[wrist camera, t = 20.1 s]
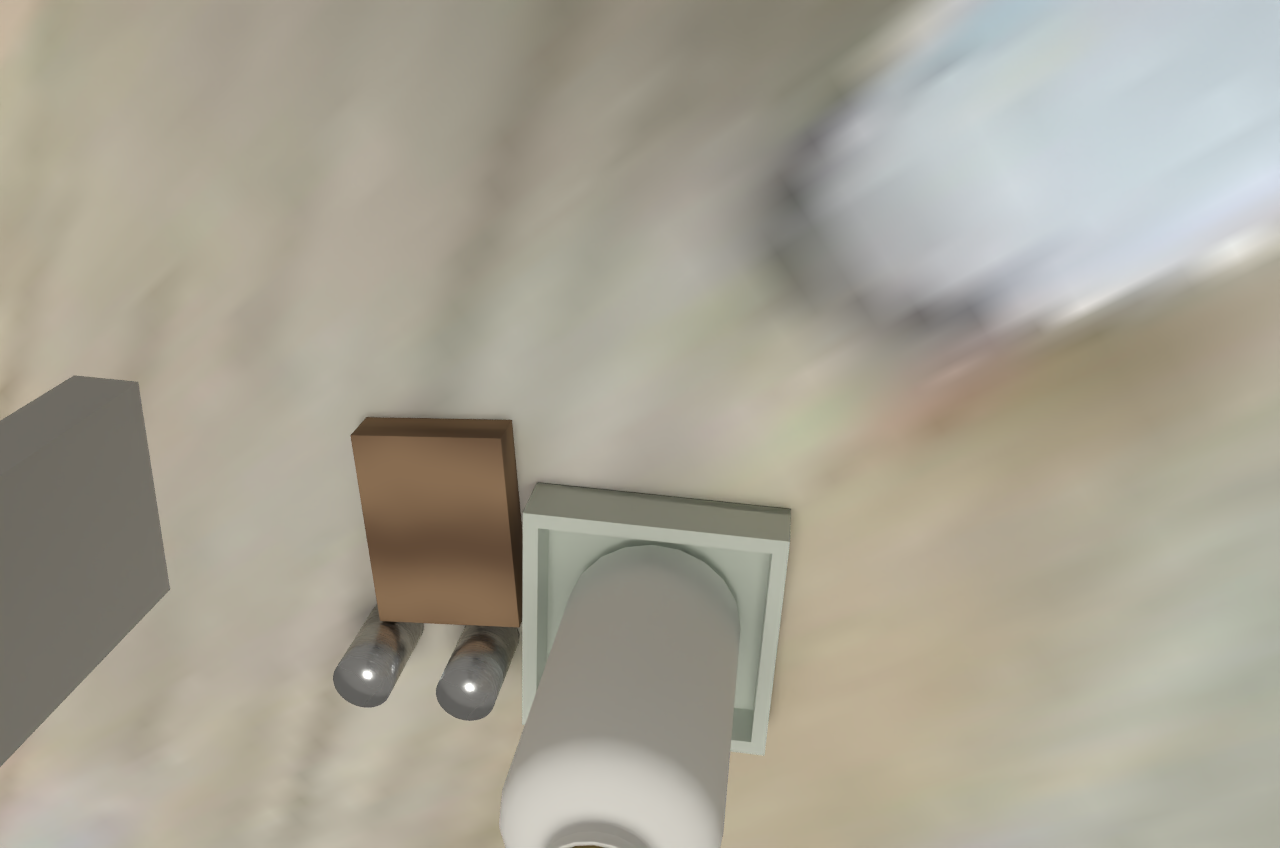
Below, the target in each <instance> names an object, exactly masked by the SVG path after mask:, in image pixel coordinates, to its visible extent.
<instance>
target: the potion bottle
mask: <svg viewBox="0 0 1280 848" xmlns="http://www.w3.org/2000/svg"><path fill="white" fill-rule="evenodd" d="M740 630H741V626H740V620H739V614H738V608H737V603H736V601H735V599H734V597H733V595H732V594H731V592H730V590H729V588H728V586H727V585H726V583H725V581H724V580H723V579H722V578H721V577H720V576H719V575H718V574H717V573H716V572H715V571H714V570H712V569H711V568H710V567H709V566H708V565H707V564H706V563H705V562H703V561H701V560H699V559H697V558H695V557H693V556H691V555H689V554H687V553H685V552H683V551H681V550H678V549H672V548H667V547H662V546H656V545H645V546H634V547H625V548H622V549H620V550H617V551H615V552H612V553H610V554H607V555H605V556H602V557H601V558H599V559H598V560H597V561H596V562H595V563H594V564H592V565H591V566H590V567H589V568H588V569H587V570H585V571H584V572H583V573H582V574H581V576H580V578H579V580H578V582H577V583H576V585H575V587H574V589H573V591H572V592H571V594H570V597H569V600H568V602H567V605H566V608H565V611H564V614H563V617H562V620H561V623H560V625H559V628H558V631H557V634H556V637H555V640H554V643H553V646H552V648H551V651H550V654H549V657H548V660H547V663H546V666H545V669H544V671H543V674H542V677H541V680H540V683H539V686H538V689H537V692H536V694H535V697H534V700H533V703H532V706H531V709H530V712H529V715H528V718H527V720H526V723H525V726H524V729H523V732H522V735H521V738H520V741H519V743H518V746H517V749H516V752H515V755H514V758H513V761H512V764H511V766H510V769H509V772H508V775H507V778H506V781H505V784H504V787H503V790H502V799H501V809H500V821H499V827H500V831H501V834H502V838H503V841H504V845H505V848H720V846H721V841H722V837H723V830H724V818H725V807H726V795H727V783H728V771H729V760H730V748H731V736H732V724H733V713H734V701H735V689H736V677H737V666H738V654H739V642H740Z"/></svg>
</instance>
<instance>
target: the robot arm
mask: <svg viewBox="0 0 1280 848" xmlns="http://www.w3.org/2000/svg"><path fill="white" fill-rule="evenodd" d="M169 590H170V586H169V579H168V573H167V566H166V560H165V553H164V547H163V540H162V534H161V527H160V521H159V514H158V508H157V501H156V495H155V488H154V482H153V475H152V469H151V462H150V456H149V449H148V443H147V436H146V430H145V423H144V417H143V410H142V404H141V397H140V391H139V384H138V382H134V381H124V380H114V379H104V378H94V377H84V376H73V377H71V378H69V379H68V380H66V381H64V382H63V383H61V384H60V385H58V386H56V387H55V388H53V389H51V390H50V391H48V392H47V393H45V394H43V395H42V396H40V397H38V398H37V399H35V400H33V401H32V402H30V403H29V404H27V405H25V406H24V407H22V408H20V409H19V410H17V411H16V412H14V413H12V414H11V415H9V416H7V417H6V418H4V419H2V420H1V421H0V767H1V766H2V765H3V763H4V762H5V761H6V760H7V759H8V758H9V757H10V756H11V755H12V754H13V753H14V752H15V751H16V750H17V749H18V748H19V747H20V746H21V745H22V744H23V743H24V742H25V740H26V739H27V738H28V737H29V736H30V735H31V734H32V733H33V732H34V731H35V730H36V729H37V728H38V727H39V726H40V725H41V724H42V723H43V722H44V721H45V720H46V719H47V717H48V716H49V715H50V714H51V713H52V712H53V711H54V710H55V709H56V708H57V707H58V706H59V705H60V704H61V703H62V702H63V701H64V700H65V699H66V698H67V697H68V696H69V694H70V693H71V692H72V691H73V690H74V689H75V688H76V687H77V686H78V685H79V684H80V683H81V682H82V681H83V680H84V679H85V678H86V677H87V676H88V675H89V674H90V673H91V672H92V670H93V669H94V668H95V667H96V666H97V665H98V664H99V663H100V662H101V661H102V660H103V659H104V658H105V657H106V656H107V655H108V654H109V653H110V652H111V651H112V650H113V649H114V647H115V646H116V645H117V644H118V643H119V642H120V641H121V640H122V639H123V638H124V637H125V636H126V635H127V634H128V633H129V632H130V631H131V630H132V629H133V628H134V627H135V626H136V624H137V623H138V622H139V621H140V620H141V619H142V618H143V617H144V616H145V615H146V614H147V613H148V612H149V611H150V610H151V609H152V608H153V607H154V606H155V605H156V604H157V603H158V601H159V600H160V599H161V598H162V597H163V596H164V595H165V594H166V593H167V592H168V591H169Z"/></svg>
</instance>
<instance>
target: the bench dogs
mask: <svg viewBox="0 0 1280 848" xmlns="http://www.w3.org/2000/svg"><path fill="white" fill-rule="evenodd" d="M423 628H424V625H423V623H412V622H391V621H380V618H379V611H378V605H376V606H375V607H374V609H373V610H372V612H371V613H370V615H369V617H368V618H367V620H366V621H365V623H364V625H363V626H362V628H361V629H360V631H359V633H358V634H357V636H356V637H355V639H354V640H353V642H352V644H351V645H350V647H349V648H348V650H347V652H346V653H345V655H344V656H343V658H342V660H341V661H340V663H339V664H338V666H337V667H336V669H335V671H334V675H333V681H334V685H335V688H336V690H337V691H338V693H339V694H340V695H341V696H342V697H343V698H344V699H345V700H346V701H348V702H350V703H352V704H354V705H356V706H360V707H375V706H378V705H381V704H382V703H384V702H385V701H386V700H387V698H388V697H389V695H390V693H391V691H392V689H393V687H394V686H395V684H396V682H397V680H398V678H399V676H400V674H401V673H402V671H403V669H404V667H405V665H406V663H407V661H408V660H409V658H410V656H411V654H412V652H413V650H414V648H415V646H416V645H417V643H418V641H419V639H420V637H421V635H422V633H423ZM518 643H519V632H518V629H517V627H499V626H478V625H466V626H465V629H464V631H463V633H462V635H461V637H460V639H459V641H458V643H457V645H456V647H455V649H454V651H453V653H452V656H451V658H450V660H449V662H448V664H447V666H446V668H445V670H444V672H443V674H442V676H441V678H440V680H439V683H438V685H437V688H436V696H437V700H438V702H439V704H440V705H441V707H442V708H443V709H444V710H445V711H446V712H447V713H449V714H450V715H452V716H454V717H456V718H458V719H462V720H469V721H471V720H478V719H481V718H484V717H485V716H487V715H488V714H489V713H490V712H491V710H492V709H493V706H494V704H495V701H496V699H497V696H498V694H499V691H500V689H501V686H502V684H503V681H504V679H505V676H506V674H507V671H508V668H509V666H510V663H511V661H512V658H513V656H514V653H515V651H516V648H517V646H518Z"/></svg>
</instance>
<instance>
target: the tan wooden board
mask: <svg viewBox="0 0 1280 848" xmlns="http://www.w3.org/2000/svg"><path fill="white" fill-rule="evenodd" d="M351 441H352V447H353V454H354V460H355V466H356V473H357V479H358V485H359V492H360V498H361V504H362V510H363V517H364V523H365V529H366V536H367V542H368V548H369V555H370V561H371V567H372V574H373V580H374V586H375V593H376V599H377V605H378V611H379V618H380V621H391V622H412V623H434V624H456V625H478V626H499V627H520V624H521V622H522V604H523V534H522V524H521V513H520V502H519V491H518V481H517V470H516V459H515V449H514V438H513V427H512V420H485V419H431V418H377V417H367V418H366V419H365V420H364V421H363V422H362V423H361V424H360V425H359V427H358V428H357V429H356V430H355V431H354V432H353V433H352V434H351Z"/></svg>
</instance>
